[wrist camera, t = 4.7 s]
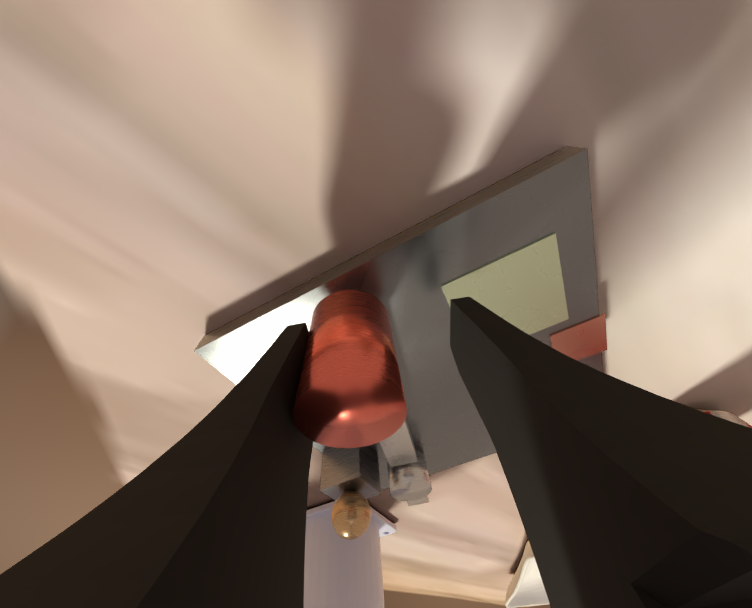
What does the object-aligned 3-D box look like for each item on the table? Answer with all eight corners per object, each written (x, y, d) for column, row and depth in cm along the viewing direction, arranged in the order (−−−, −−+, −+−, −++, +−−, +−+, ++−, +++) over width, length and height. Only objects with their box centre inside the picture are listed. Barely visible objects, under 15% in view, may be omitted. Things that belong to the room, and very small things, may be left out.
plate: (371, 478, 21) (376, 572, 17) (204, 335, 13) (127, 448, 8) (597, 401, 18) (677, 493, 13) (572, 143, 9) (761, 162, 5)
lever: (435, 484, 20) (457, 578, 16) (396, 491, 20) (408, 586, 16) (377, 267, 10) (394, 365, 6) (303, 286, 10) (273, 393, 6)
